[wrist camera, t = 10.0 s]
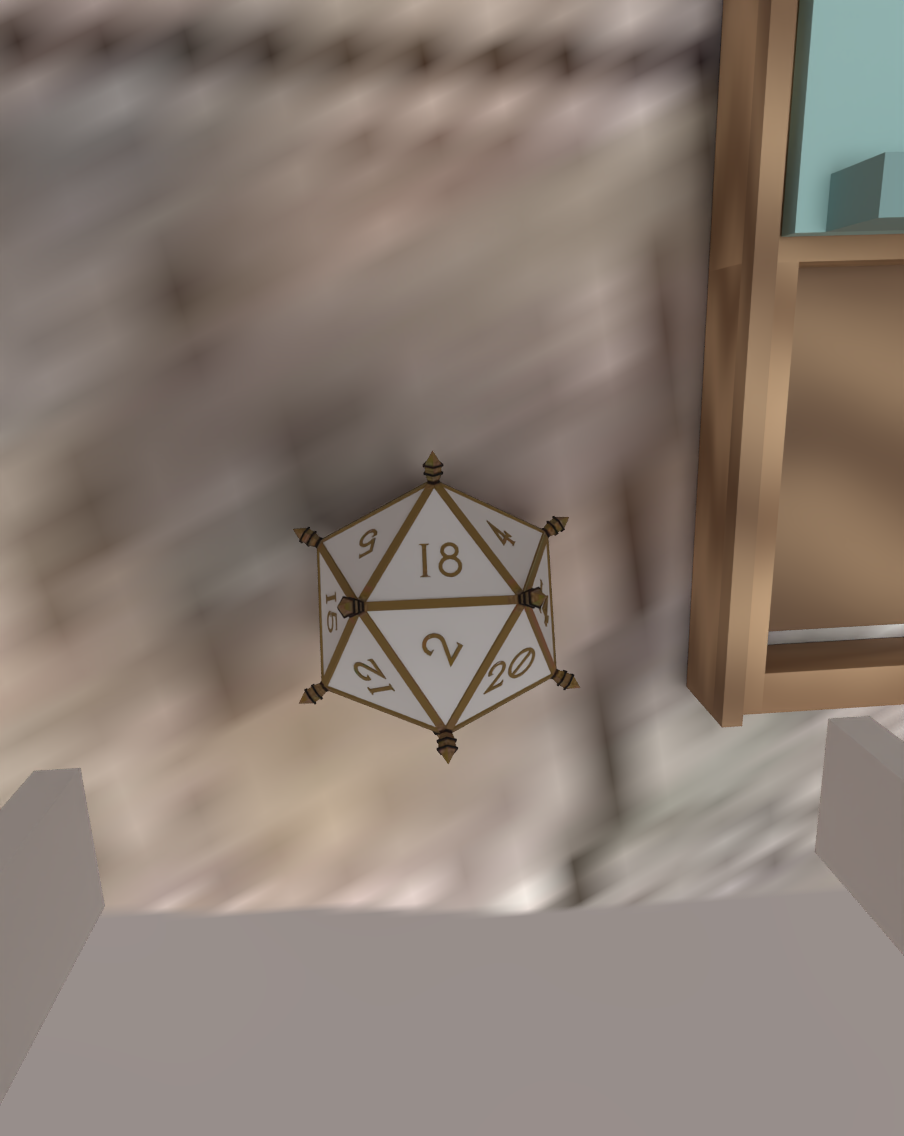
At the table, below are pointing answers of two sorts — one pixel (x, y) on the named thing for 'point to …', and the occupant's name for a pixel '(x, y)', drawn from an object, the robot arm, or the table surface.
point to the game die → (435, 608)
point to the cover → (847, 120)
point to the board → (792, 420)
